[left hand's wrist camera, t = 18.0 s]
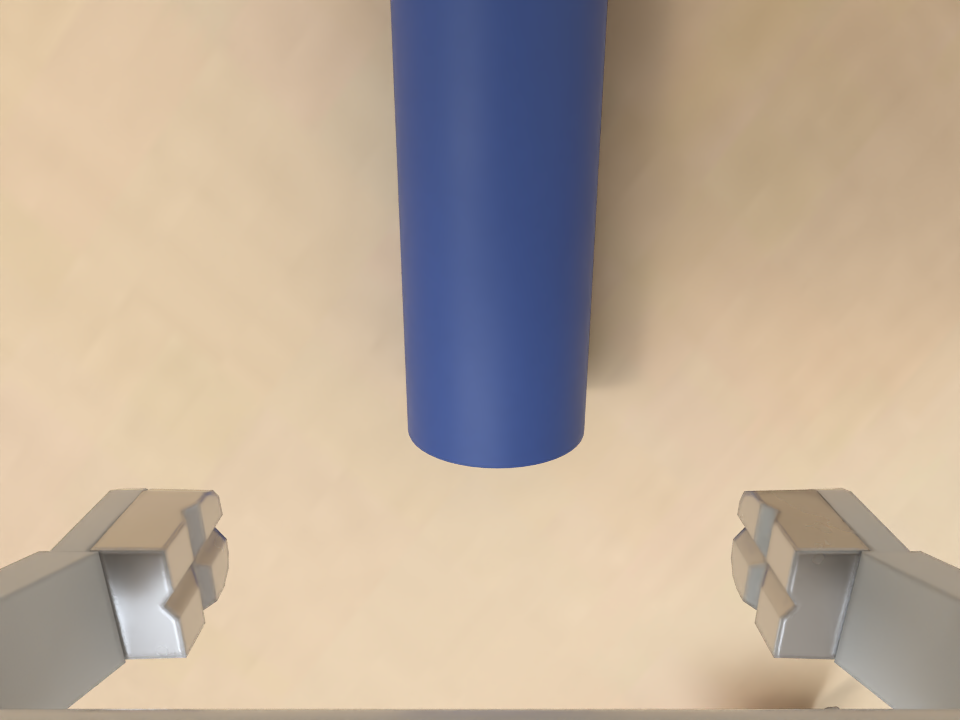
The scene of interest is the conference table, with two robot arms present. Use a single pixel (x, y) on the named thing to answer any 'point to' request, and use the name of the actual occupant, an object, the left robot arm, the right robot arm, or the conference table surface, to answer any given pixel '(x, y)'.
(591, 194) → the rod
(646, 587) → the conference table surface
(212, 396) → the conference table surface
